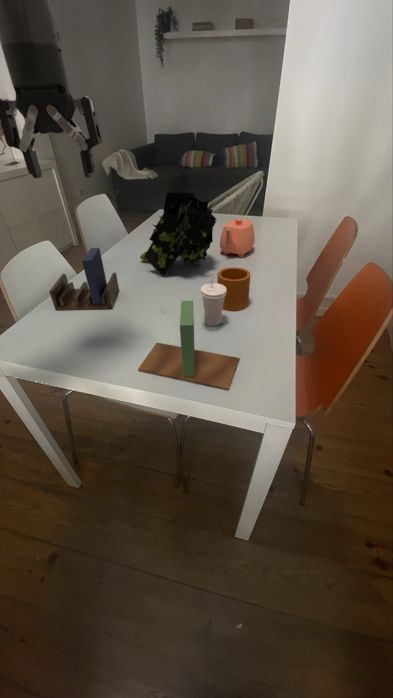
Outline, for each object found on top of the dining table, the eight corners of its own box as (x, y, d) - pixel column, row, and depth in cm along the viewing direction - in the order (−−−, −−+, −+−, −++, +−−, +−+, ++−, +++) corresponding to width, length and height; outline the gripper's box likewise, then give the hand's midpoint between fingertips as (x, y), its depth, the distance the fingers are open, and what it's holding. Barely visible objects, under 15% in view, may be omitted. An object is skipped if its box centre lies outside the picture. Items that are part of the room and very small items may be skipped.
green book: (183, 377, 66) (179, 325, 58) (184, 350, 73) (181, 300, 65) (194, 377, 66) (193, 325, 58) (194, 350, 73) (193, 300, 65)
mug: (259, 297, 93) (262, 268, 88) (237, 314, 86) (239, 284, 80) (233, 288, 98) (235, 260, 92) (210, 304, 90) (211, 275, 85)
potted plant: (129, 276, 109) (147, 202, 84) (150, 237, 121) (171, 163, 97) (186, 302, 112) (219, 238, 88) (201, 261, 125) (234, 195, 100)
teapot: (231, 241, 130) (233, 210, 122) (259, 246, 125) (263, 214, 118) (210, 259, 116) (210, 225, 109) (240, 264, 112) (243, 230, 104)
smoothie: (205, 314, 86) (205, 265, 78) (228, 318, 84) (230, 268, 76) (197, 326, 82) (196, 276, 73) (221, 331, 80) (223, 279, 71)
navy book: (93, 304, 89) (81, 260, 81) (100, 289, 96) (90, 247, 88) (101, 304, 89) (91, 260, 81) (108, 289, 96) (99, 247, 88)
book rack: (55, 310, 89) (49, 291, 85) (67, 292, 98) (62, 273, 94) (112, 309, 89) (108, 290, 85) (119, 291, 98) (116, 272, 94)
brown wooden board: (138, 371, 68) (137, 369, 68) (156, 344, 76) (156, 342, 76) (228, 390, 63) (228, 388, 63) (239, 359, 71) (239, 357, 70)
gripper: (-38, 40, 40) (11, 182, 50) (74, 37, 40) (100, 180, 50) (-8, 48, 46) (30, 174, 56) (90, 45, 46) (110, 172, 56)
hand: (63, 177), depth 53 cm, fingers open, 8 cm apart
